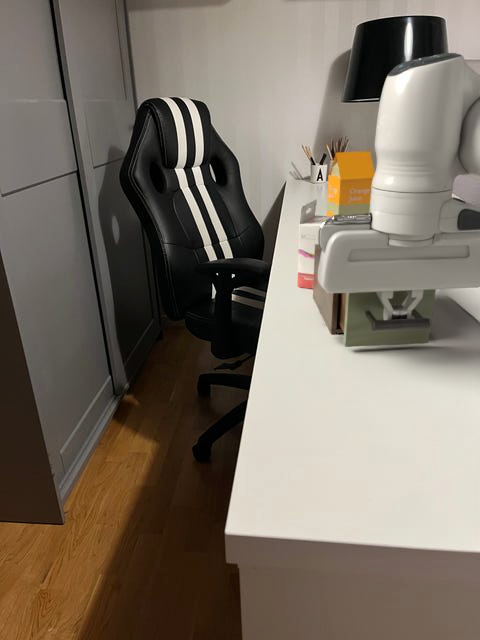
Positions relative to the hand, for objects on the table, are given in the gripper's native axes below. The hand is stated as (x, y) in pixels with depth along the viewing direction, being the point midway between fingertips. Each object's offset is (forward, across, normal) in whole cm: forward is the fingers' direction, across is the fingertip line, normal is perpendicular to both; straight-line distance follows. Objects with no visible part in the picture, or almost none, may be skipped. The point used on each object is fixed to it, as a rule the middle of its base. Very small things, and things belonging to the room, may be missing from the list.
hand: (396, 320), depth 64 cm
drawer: (+5, 0, +7) cm, 8 cm away
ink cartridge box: (+6, -4, +31) cm, 32 cm away
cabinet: (+6, 0, +16) cm, 17 cm away
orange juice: (+6, +10, +64) cm, 65 cm away
